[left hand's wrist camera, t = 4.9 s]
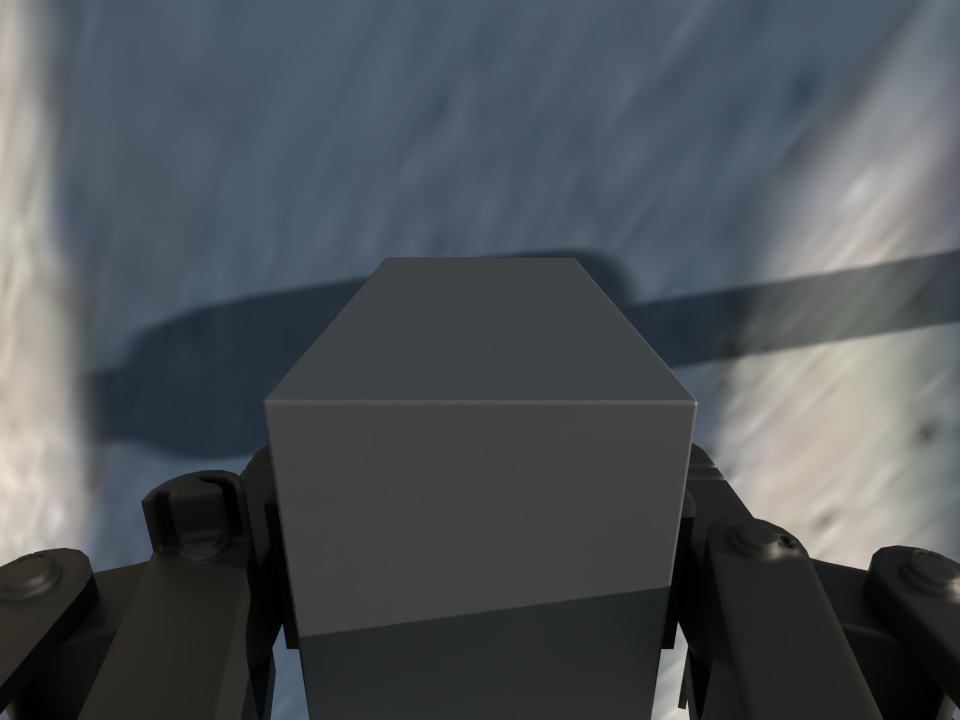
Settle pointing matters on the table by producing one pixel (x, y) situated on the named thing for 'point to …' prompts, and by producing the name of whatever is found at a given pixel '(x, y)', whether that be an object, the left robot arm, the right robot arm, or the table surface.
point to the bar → (480, 497)
